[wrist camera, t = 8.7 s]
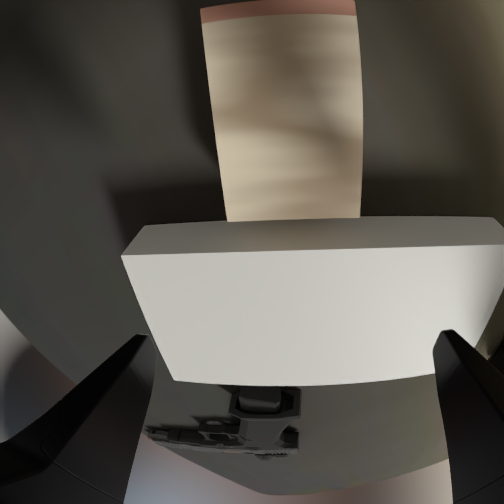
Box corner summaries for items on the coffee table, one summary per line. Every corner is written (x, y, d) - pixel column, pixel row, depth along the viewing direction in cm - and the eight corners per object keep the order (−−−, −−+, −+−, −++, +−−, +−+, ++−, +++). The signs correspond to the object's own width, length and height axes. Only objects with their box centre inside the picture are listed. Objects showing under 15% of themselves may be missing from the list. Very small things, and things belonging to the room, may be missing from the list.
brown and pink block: (343, 185, 14) (336, 18, 10) (359, 217, 11) (354, 0, 7) (239, 188, 14) (220, 24, 10) (227, 222, 12) (200, 8, 7)
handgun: (85, 394, 25) (157, 453, 32) (293, 405, 19) (318, 462, 27) (97, 371, 28) (163, 434, 35) (295, 370, 22) (318, 438, 30)
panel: (492, 217, 13) (519, 244, 11) (450, 337, 19) (462, 367, 16) (144, 225, 16) (120, 255, 13) (184, 347, 21) (174, 380, 19)
